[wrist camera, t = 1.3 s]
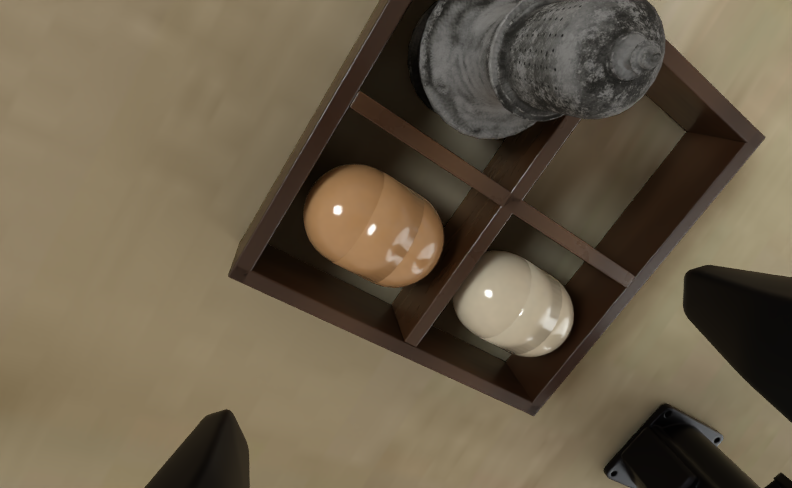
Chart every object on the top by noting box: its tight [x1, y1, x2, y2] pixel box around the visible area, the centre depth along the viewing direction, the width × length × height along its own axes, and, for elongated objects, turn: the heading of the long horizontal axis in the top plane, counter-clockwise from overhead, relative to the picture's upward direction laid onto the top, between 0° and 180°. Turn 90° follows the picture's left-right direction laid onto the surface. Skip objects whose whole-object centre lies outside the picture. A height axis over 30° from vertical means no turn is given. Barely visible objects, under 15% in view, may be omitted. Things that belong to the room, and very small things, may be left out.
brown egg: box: [303, 164, 444, 288], centre depth 20 cm, size 6×4×4 cm
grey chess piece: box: [408, 0, 665, 139], centre depth 15 cm, size 6×6×12 cm
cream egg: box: [452, 250, 574, 357], centre depth 23 cm, size 6×4×4 cm
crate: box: [228, 0, 765, 416], centre depth 21 cm, size 17×17×4 cm
